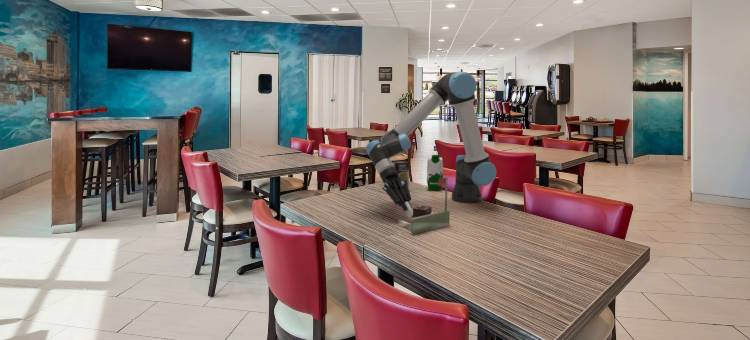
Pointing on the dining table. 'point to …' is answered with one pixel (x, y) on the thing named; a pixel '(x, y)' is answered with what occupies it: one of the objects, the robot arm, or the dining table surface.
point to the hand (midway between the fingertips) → (412, 216)
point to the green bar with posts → (429, 217)
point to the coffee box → (402, 170)
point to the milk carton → (434, 172)
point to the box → (421, 211)
